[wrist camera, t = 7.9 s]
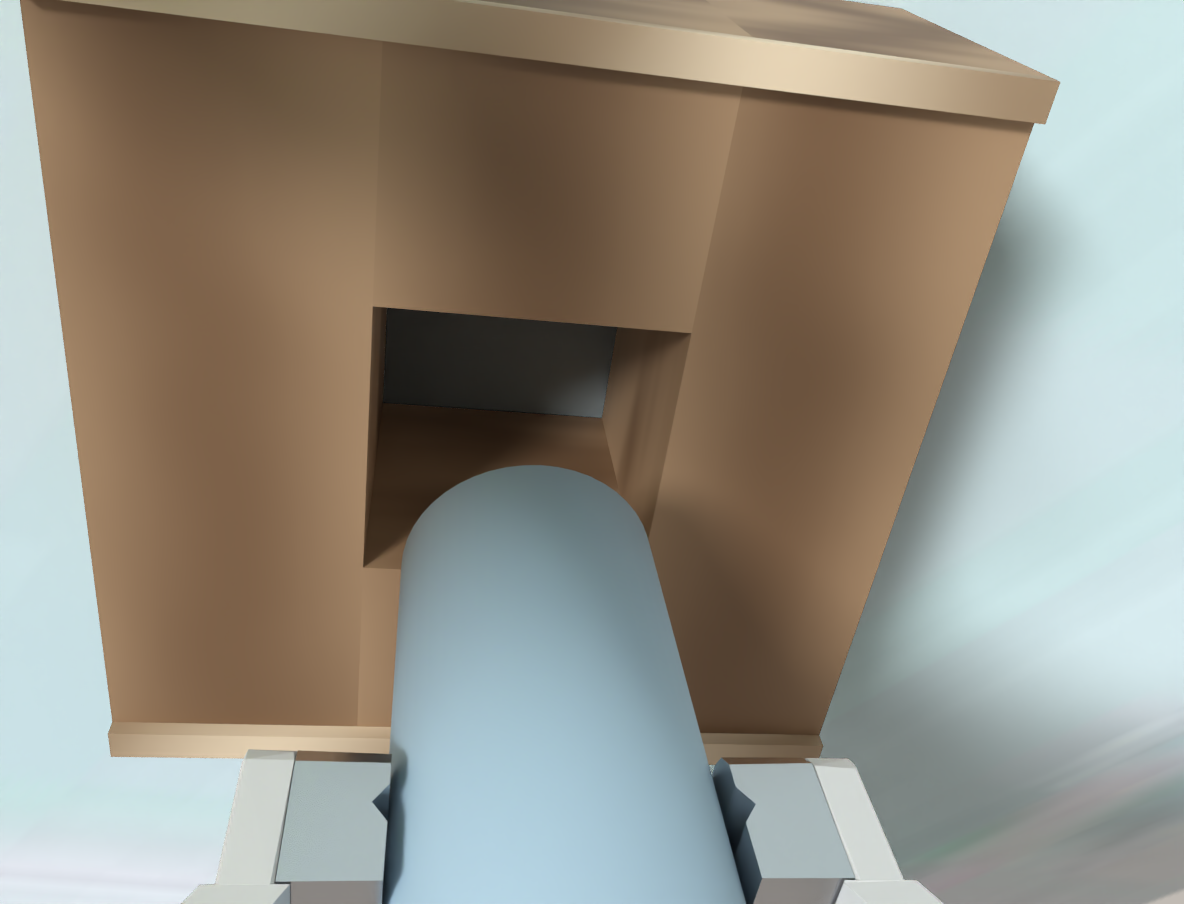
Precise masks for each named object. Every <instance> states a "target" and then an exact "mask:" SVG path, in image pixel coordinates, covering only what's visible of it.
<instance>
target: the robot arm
mask: <svg viewBox="0 0 1184 904" xmlns="http://www.w3.org/2000/svg"><path fill="white" fill-rule="evenodd" d="M391 762H392V754H378V753H353V752H327V751H301V750H298V752H297V751H283V750H254V749H248V751H247V753H246V755H245V757H244V759H243V761H242V764H241V769H240V773H239V778H238V782H237V786H236V791H235V795H234V800H233V804H232V809H231V813H230V818H229V822H228V827H227V831H226V836H225V840H224V845H223V849H222V854H221V858H220V863H219V867H218V872H217V876H216V881H215V884H206V885H199V886H198V887H197V888H196V889H195V890H194V891H193V892H192V893H191V894H190V895H189V896H188V897H187V898H186V899H185V900H184V901H183V902H182V903H181V904H382V902H383V888H384V874H385V859H386V839H387V828H388V814H389V797H390V779H391ZM712 779H713V782H714V786H715V790H716V793H717V797H718V801H719V805H720V808H721V812H722V816H723V820H724V823H725V827H726V831H727V834H728V838H729V842H730V846H731V849H732V853H733V857H734V860H735V864H736V868H737V872H738V875H739V879H740V883H741V886H742V890H743V894H744V898H745V901H746V904H944V903H943V902H942V901H940V900H939V899H938V898H937V897H936V896H935V895H934V894H932V893H931V892H930V891H929V890H928V889H927V888H925V887H924V886H923V885H922V884H921V883H920V882H918V881H917V880H904V878H903V875H902V873H901V871H900V868H899V866H898V864H897V861H896V859H895V857H894V854H893V852H892V850H891V847H890V845H889V843H888V840H887V838H886V836H885V833H884V831H883V829H882V826H881V824H880V822H879V819H878V817H877V815H876V812H875V810H874V808H873V805H872V803H871V801H870V798H869V796H868V794H867V791H866V789H865V787H864V784H863V782H862V780H861V777H860V775H859V772H858V770H857V768H856V766H855V765H854V764H853V763H852V762H851V761H850V760H849V759H848V758H806V759H803V758H777V757H721V758H720V760H719V761H718V762H717V763H716V765H715V767H714V771H713V774H712Z"/></svg>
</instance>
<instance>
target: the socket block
mask: <svg viewBox="0 0 1184 904" xmlns="http://www.w3.org/2000/svg"><path fill="white" fill-rule="evenodd" d="M20 5H21V12H22V20H23V28H24V36H25V44H26V51H27V59H28V67H29V75H30V83H31V90H32V98H33V106H34V114H35V122H36V129H37V137H38V145H39V153H40V161H41V168H42V176H43V184H44V192H45V200H46V207H47V215H48V223H49V231H50V239H51V246H52V254H53V262H54V270H55V278H56V285H57V293H58V301H59V309H60V317H61V324H62V332H63V340H64V348H65V356H66V363H67V371H68V379H69V387H70V395H71V402H72V410H73V418H74V426H75V434H76V441H77V449H78V457H79V465H80V473H81V480H82V488H83V496H84V504H85V512H86V519H87V527H88V535H89V543H90V551H91V558H92V566H93V574H94V582H95V590H96V597H97V605H98V613H99V621H100V629H101V636H102V644H103V652H104V660H105V668H106V675H107V683H108V691H109V699H110V707H111V714H112V724H111V727H110V730H109V733H108V738H109V745H110V753H111V757H175V758H244V757H245V755H246V753H247V751H248V749H254V750H283V751H297V752H298V750H301V751H327V752H353V753H378V754H389V749H390V733H391V718H392V702H393V686H394V671H395V655H396V640H397V624H398V608H399V593H400V577H401V564H402V557H403V551H404V548H405V544H406V541H407V538H408V536H409V534H410V532H411V530H412V528H413V526H414V525H415V523H416V522H417V520H418V519H419V518H420V516H421V515H422V513H423V512H424V511H425V510H426V509H427V508H428V507H429V506H430V505H431V504H432V503H433V502H434V501H435V500H436V499H438V498H439V497H440V496H441V495H442V494H444V493H445V492H446V491H448V490H450V489H451V488H453V487H454V486H456V485H457V484H459V483H461V482H463V481H465V480H468V479H470V478H472V477H474V476H477V475H480V474H482V473H485V472H488V471H492V470H496V469H501V468H505V467H513V466H521V465H544V466H553V467H560V468H564V469H569V470H573V471H577V472H579V473H582V474H585V475H588V476H590V477H592V478H594V479H596V480H598V481H600V482H602V483H604V484H605V485H607V486H608V487H610V488H611V489H613V490H614V491H616V492H617V493H618V494H619V495H620V496H621V497H622V498H623V499H625V500H626V501H627V502H628V504H629V505H630V506H631V507H632V508H633V510H634V511H635V512H636V514H637V515H638V517H639V519H640V521H641V522H642V524H643V526H644V529H645V532H646V534H647V537H648V541H649V544H650V548H651V552H652V556H653V559H654V563H655V567H656V570H657V574H658V578H659V582H660V585H661V589H662V593H663V596H664V600H665V604H666V608H667V611H668V615H669V619H670V622H671V626H672V630H673V634H674V637H675V641H676V645H677V648H678V652H679V656H680V660H681V663H682V667H683V671H684V675H685V678H686V682H687V686H688V689H689V693H690V697H691V701H692V704H693V708H694V712H695V715H696V719H697V723H698V727H699V730H700V734H701V738H702V741H703V745H704V749H705V753H706V756H707V760H708V764H709V765H716V763H717V762H718V761H719V760H720V758H721V757H777V758H803V759H806V758H819V757H820V754H821V751H822V748H823V744H822V742H821V739H820V736H819V734H820V731H821V728H822V725H823V722H824V720H825V717H826V714H827V711H828V708H829V705H830V702H831V700H832V697H833V694H834V691H835V688H836V685H837V683H838V680H839V677H840V674H841V671H842V668H843V665H844V663H845V660H846V657H847V654H848V651H849V648H850V646H851V643H852V640H853V637H854V634H855V631H856V629H857V626H858V623H859V620H860V617H861V614H862V611H863V609H864V606H865V603H866V600H867V597H868V594H869V592H870V589H871V586H872V583H873V580H874V577H875V574H876V572H877V569H878V566H879V563H880V560H881V557H882V555H883V552H884V549H885V546H886V543H887V540H888V537H889V535H890V532H891V529H892V526H893V523H894V520H895V518H896V515H897V512H898V509H899V506H900V503H901V500H902V498H903V495H904V492H905V489H906V486H907V483H908V481H909V478H910V475H911V472H912V469H913V466H914V463H915V461H916V458H917V455H918V452H919V449H920V446H921V444H922V441H923V438H924V435H925V432H926V429H927V426H928V424H929V421H930V418H931V415H932V412H933V409H934V407H935V404H936V401H937V398H938V395H939V392H940V390H941V387H942V384H943V381H944V378H945V375H946V372H947V370H948V367H949V364H950V361H951V358H952V355H953V353H954V350H955V347H956V344H957V341H958V338H959V335H960V333H961V330H962V327H963V324H964V321H965V318H966V316H967V313H968V310H969V307H970V304H971V301H972V298H973V296H974V293H975V290H976V287H977V284H978V281H979V279H980V276H981V273H982V270H983V267H984V264H985V261H986V259H987V256H988V253H989V250H990V247H991V244H992V242H993V239H994V236H995V233H996V230H997V227H998V224H999V222H1000V219H1001V216H1002V213H1003V210H1004V207H1005V205H1006V202H1007V199H1008V196H1009V193H1010V190H1011V188H1012V185H1013V182H1014V179H1015V176H1016V173H1017V170H1018V168H1019V165H1020V162H1021V159H1022V156H1023V153H1024V151H1025V148H1026V145H1027V142H1028V139H1029V136H1030V133H1031V131H1032V128H1033V125H1034V123H1039V124H1045V123H1046V121H1047V118H1048V115H1049V112H1050V109H1051V107H1052V104H1053V101H1054V98H1055V95H1056V93H1057V90H1058V87H1059V84H1060V82H1059V81H1057V80H1055V79H1053V78H1051V77H1049V76H1046V75H1044V74H1042V73H1040V72H1038V71H1036V70H1033V69H1031V68H1029V67H1027V66H1025V65H1023V64H1020V63H1018V62H1016V61H1014V60H1012V59H1010V58H1007V57H1005V56H1003V55H1001V54H999V53H997V52H994V51H992V50H990V49H988V48H986V47H984V46H981V45H979V44H977V43H975V42H973V41H971V40H968V39H966V38H964V37H962V36H960V35H958V34H955V33H953V32H951V31H949V30H947V29H945V28H942V27H940V26H938V25H936V24H934V23H932V22H929V21H927V20H925V19H923V18H921V17H919V16H916V15H914V14H912V13H910V12H908V11H906V10H903V9H900V8H893V7H886V6H879V5H872V4H865V3H858V2H851V1H844V0H20ZM387 308H398V309H410V310H422V311H434V312H445V313H457V314H469V315H481V316H493V317H505V318H516V319H528V320H540V321H552V322H564V323H576V324H588V325H599V326H611V327H617V331H616V337H615V343H614V349H613V355H612V361H611V367H610V373H609V379H608V385H607V391H606V397H605V403H604V409H603V414H602V418H593V417H579V416H565V415H550V414H536V413H521V412H507V411H493V410H478V409H464V408H449V407H435V406H421V405H406V404H392V403H383V393H384V370H385V348H386V326H387Z"/></svg>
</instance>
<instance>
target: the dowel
mask: <svg viewBox="0 0 1184 904" xmlns="http://www.w3.org/2000/svg"><path fill="white" fill-rule="evenodd" d="M389 754H392V762H391V779H390V797H389V814H388V828H387V839H386V859H385V874H384V888H383V902H382V904H746V901H745V898H744V894H743V890H742V886H741V883H740V879H739V875H738V872H737V868H736V864H735V860H734V857H733V853H732V849H731V846H730V842H729V838H728V834H727V831H726V827H725V823H724V820H723V816H722V812H721V808H720V805H719V801H718V797H717V793H716V790H715V786H714V782H713V779H712V775H711V771H710V767H709V764H708V760H707V756H706V753H705V749H704V745H703V741H702V738H701V734H700V730H699V727H698V723H697V719H696V715H695V712H694V708H693V704H692V701H691V697H690V693H689V689H688V686H687V682H686V678H685V675H684V671H683V667H682V663H681V660H680V656H679V652H678V648H677V645H676V641H675V637H674V634H673V630H672V626H671V622H670V619H669V615H668V611H667V608H666V604H665V600H664V596H663V593H662V589H661V585H660V582H659V578H658V574H657V570H656V567H655V563H654V559H653V556H652V552H651V548H650V544H649V541H648V537H647V534H646V532H645V529H644V526H643V524H642V522H641V521H640V519H639V517H638V515H637V514H636V512H635V511H634V510H633V508H632V507H631V506H630V505H629V504H628V502H627V501H626V500H625V499H623V498H622V497H621V496H620V495H619V494H618V493H617V492H616V491H614V490H613V489H611V488H610V487H608V486H607V485H605V484H604V483H602V482H600V481H598V480H596V479H594V478H592V477H590V476H588V475H585V474H582V473H579V472H577V471H573V470H569V469H564V468H560V467H553V466H544V465H521V466H513V467H505V468H501V469H496V470H492V471H488V472H485V473H482V474H480V475H477V476H474V477H472V478H470V479H468V480H465V481H463V482H461V483H459V484H457V485H456V486H454V487H453V488H451V489H450V490H448V491H446V492H445V493H444V494H442V495H441V496H440V497H439V498H438V499H436V500H435V501H434V502H433V503H432V504H431V505H430V506H429V507H428V508H427V509H426V510H425V511H424V512H423V513H422V515H421V516H420V518H419V519H418V520H417V522H416V523H415V525H414V526H413V528H412V530H411V532H410V534H409V536H408V538H407V541H406V544H405V548H404V551H403V557H402V564H401V577H400V593H399V608H398V624H397V640H396V655H395V671H394V686H393V702H392V718H391V733H390V749H389Z"/></svg>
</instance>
